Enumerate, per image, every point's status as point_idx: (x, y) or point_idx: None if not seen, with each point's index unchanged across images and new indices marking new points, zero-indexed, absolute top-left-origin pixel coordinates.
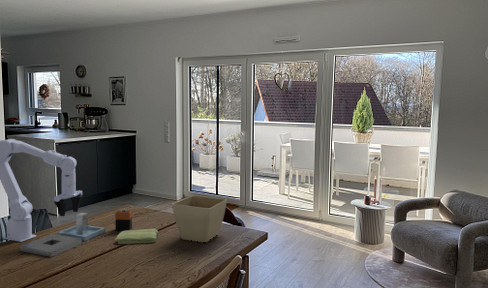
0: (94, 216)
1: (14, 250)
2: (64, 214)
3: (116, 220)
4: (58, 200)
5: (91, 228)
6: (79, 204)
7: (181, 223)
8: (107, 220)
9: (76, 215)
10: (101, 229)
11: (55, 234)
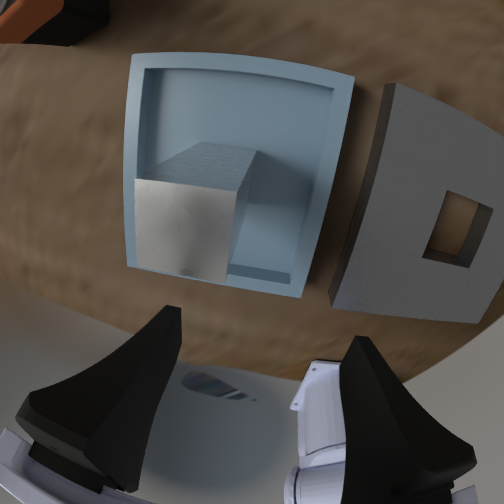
0: (16, 278)
1: (460, 330)
2: (369, 345)
3: (69, 2)
4: (468, 497)
5: (142, 160)
6: (115, 352)
7: None
8: (11, 194)
9: (227, 271)
10: (166, 54)
11: (341, 289)
